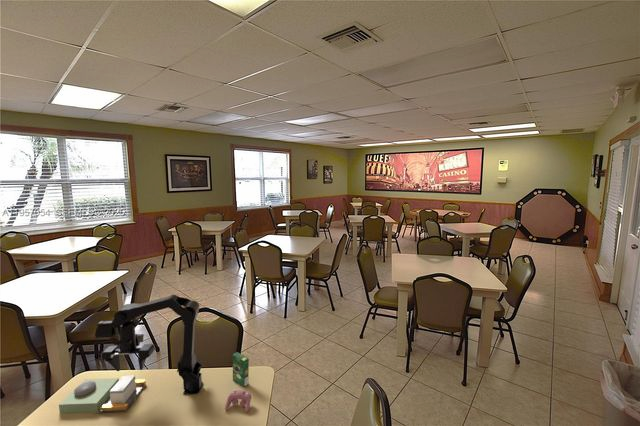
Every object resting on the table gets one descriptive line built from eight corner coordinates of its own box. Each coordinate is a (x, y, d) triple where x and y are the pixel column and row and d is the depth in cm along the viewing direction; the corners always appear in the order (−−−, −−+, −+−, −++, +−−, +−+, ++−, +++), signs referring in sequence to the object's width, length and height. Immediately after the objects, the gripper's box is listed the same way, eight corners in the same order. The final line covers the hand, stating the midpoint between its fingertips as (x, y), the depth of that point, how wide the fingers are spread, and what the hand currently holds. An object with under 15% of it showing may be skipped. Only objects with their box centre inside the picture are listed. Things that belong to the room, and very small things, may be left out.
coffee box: (249, 384, 131) (249, 357, 129) (244, 388, 128) (244, 360, 126) (237, 377, 135) (236, 351, 133) (232, 380, 133) (231, 354, 131)
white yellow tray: (145, 384, 129) (145, 379, 129) (125, 412, 114) (125, 406, 114) (122, 385, 128) (121, 380, 128) (99, 413, 113) (98, 407, 113)
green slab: (119, 386, 128) (118, 375, 127) (97, 412, 114) (96, 399, 113) (85, 387, 126) (84, 376, 126) (59, 413, 113) (58, 401, 112)
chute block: (136, 387, 126) (135, 375, 125) (123, 404, 117) (122, 390, 116) (124, 388, 125) (123, 375, 124) (110, 404, 116) (109, 391, 115)
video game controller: (250, 409, 118) (253, 390, 121) (247, 413, 114) (250, 393, 116) (227, 407, 119) (230, 388, 122) (223, 411, 115) (226, 391, 117)
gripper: (159, 324, 128) (162, 357, 130) (115, 326, 126) (118, 359, 128) (146, 338, 117) (149, 374, 119) (98, 340, 115) (102, 376, 117)
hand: (130, 370), depth 121 cm, fingers open, 9 cm apart
